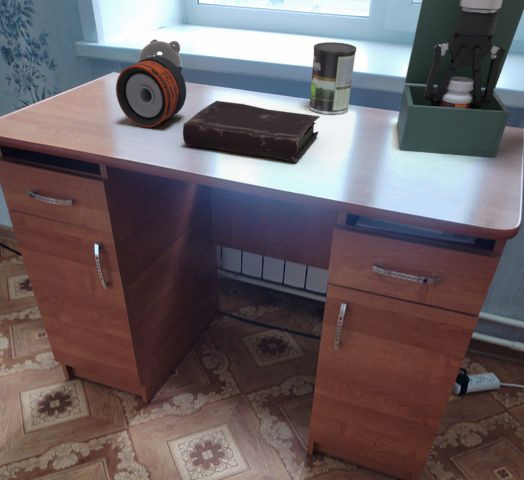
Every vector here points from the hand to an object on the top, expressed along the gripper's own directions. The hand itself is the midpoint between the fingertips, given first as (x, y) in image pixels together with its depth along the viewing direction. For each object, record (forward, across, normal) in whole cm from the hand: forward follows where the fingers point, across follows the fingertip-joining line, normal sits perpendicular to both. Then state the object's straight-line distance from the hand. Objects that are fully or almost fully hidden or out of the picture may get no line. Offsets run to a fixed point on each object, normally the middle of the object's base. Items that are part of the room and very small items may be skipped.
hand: (447, 135), depth 111 cm
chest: (+2, 0, -3) cm, 4 cm away
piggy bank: (+2, +74, -29) cm, 80 cm away
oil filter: (+2, +67, -2) cm, 67 cm away
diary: (+2, +42, +7) cm, 43 cm away
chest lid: (-16, 0, -9) cm, 18 cm away
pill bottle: (0, 0, 0) cm, 0 cm away
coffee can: (+2, +27, -21) cm, 34 cm away
